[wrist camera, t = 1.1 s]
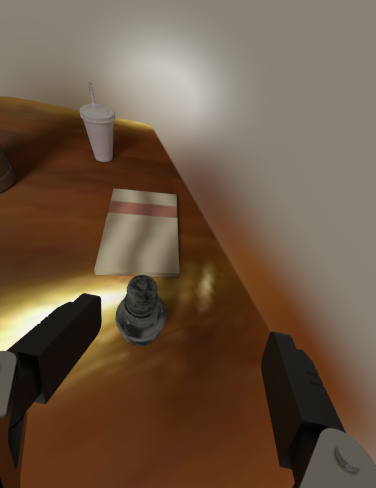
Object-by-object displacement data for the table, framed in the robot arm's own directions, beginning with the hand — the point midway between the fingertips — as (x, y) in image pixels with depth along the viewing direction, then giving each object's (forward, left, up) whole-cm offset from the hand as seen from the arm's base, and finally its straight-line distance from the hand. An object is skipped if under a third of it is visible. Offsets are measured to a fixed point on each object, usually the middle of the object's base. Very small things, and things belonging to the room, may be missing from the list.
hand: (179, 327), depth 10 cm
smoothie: (-13, +43, -19) cm, 49 cm away
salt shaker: (-2, +6, -19) cm, 20 cm away
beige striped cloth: (-3, +22, -19) cm, 29 cm away
